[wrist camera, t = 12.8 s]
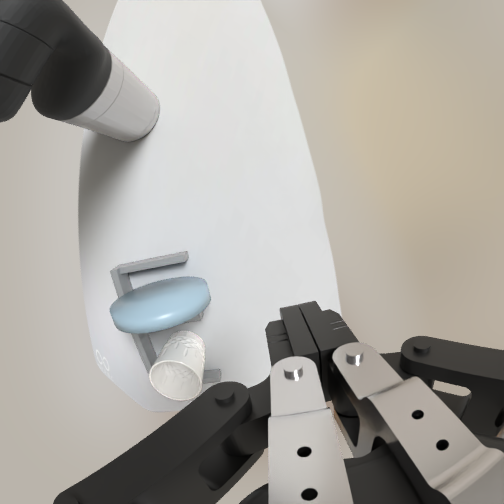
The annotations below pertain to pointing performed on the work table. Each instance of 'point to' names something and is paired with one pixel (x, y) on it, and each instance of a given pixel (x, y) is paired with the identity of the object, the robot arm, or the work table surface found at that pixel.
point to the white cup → (179, 367)
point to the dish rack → (158, 305)
